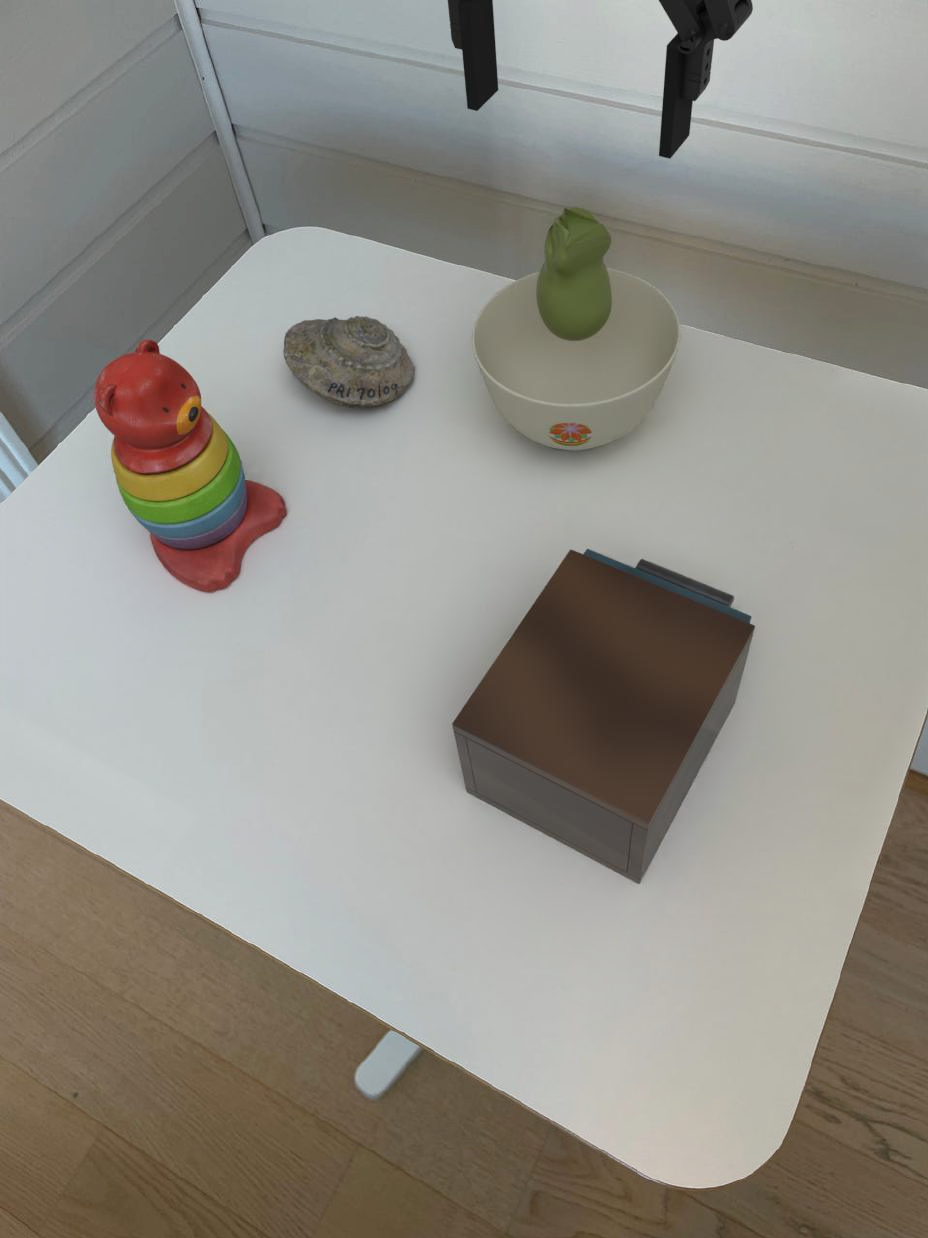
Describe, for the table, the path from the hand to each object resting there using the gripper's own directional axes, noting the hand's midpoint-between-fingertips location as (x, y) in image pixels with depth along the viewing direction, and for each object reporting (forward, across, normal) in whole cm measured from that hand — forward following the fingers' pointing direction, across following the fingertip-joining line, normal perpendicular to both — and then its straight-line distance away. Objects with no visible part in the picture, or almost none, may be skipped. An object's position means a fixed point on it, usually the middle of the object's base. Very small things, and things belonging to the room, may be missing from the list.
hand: (574, 122), depth 64 cm
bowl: (+27, 0, 0) cm, 27 cm away
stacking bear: (+27, +21, +24) cm, 42 cm away
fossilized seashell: (+27, +21, +4) cm, 34 cm away
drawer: (+26, -16, +22) cm, 38 cm away
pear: (+17, 0, 0) cm, 17 cm away
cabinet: (+27, -16, +26) cm, 41 cm away
